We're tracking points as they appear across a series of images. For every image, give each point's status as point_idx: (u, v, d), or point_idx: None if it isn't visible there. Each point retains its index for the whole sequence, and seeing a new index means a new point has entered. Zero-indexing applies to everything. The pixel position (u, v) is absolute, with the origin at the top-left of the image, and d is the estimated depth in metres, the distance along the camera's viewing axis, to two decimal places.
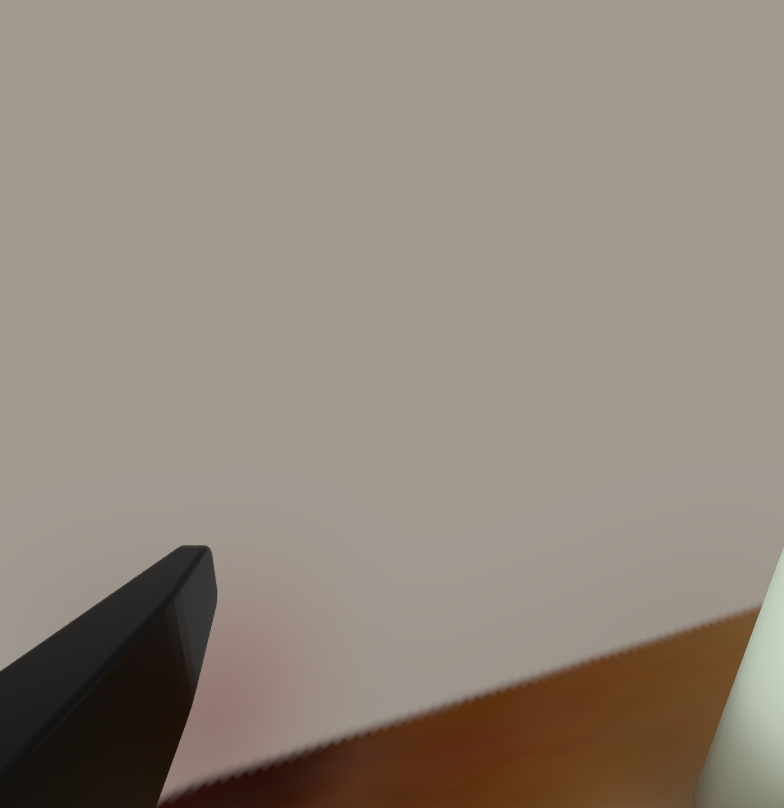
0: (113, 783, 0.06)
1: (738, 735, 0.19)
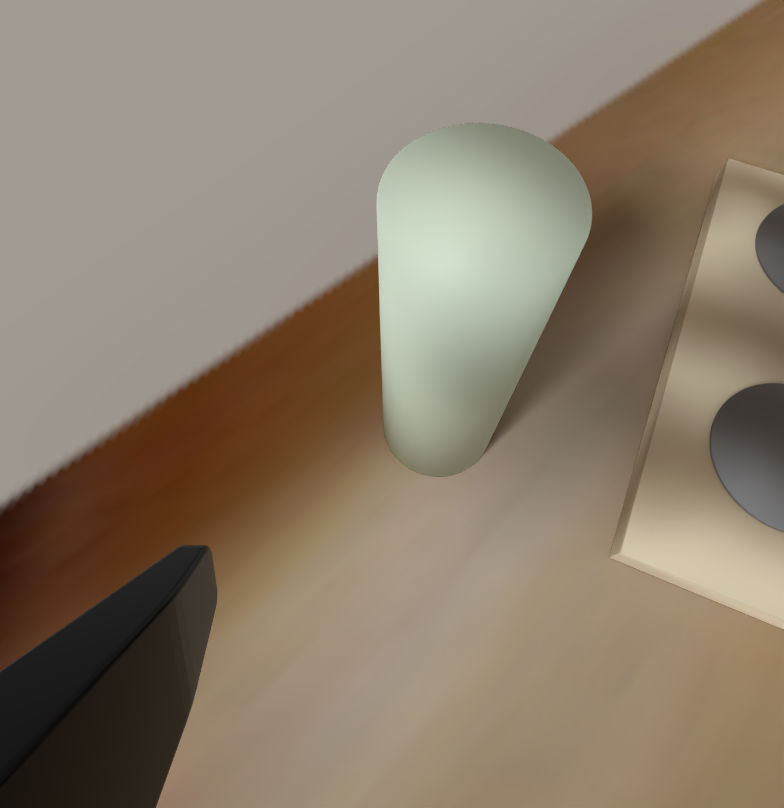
0: (113, 783, 0.06)
1: (387, 394, 0.19)
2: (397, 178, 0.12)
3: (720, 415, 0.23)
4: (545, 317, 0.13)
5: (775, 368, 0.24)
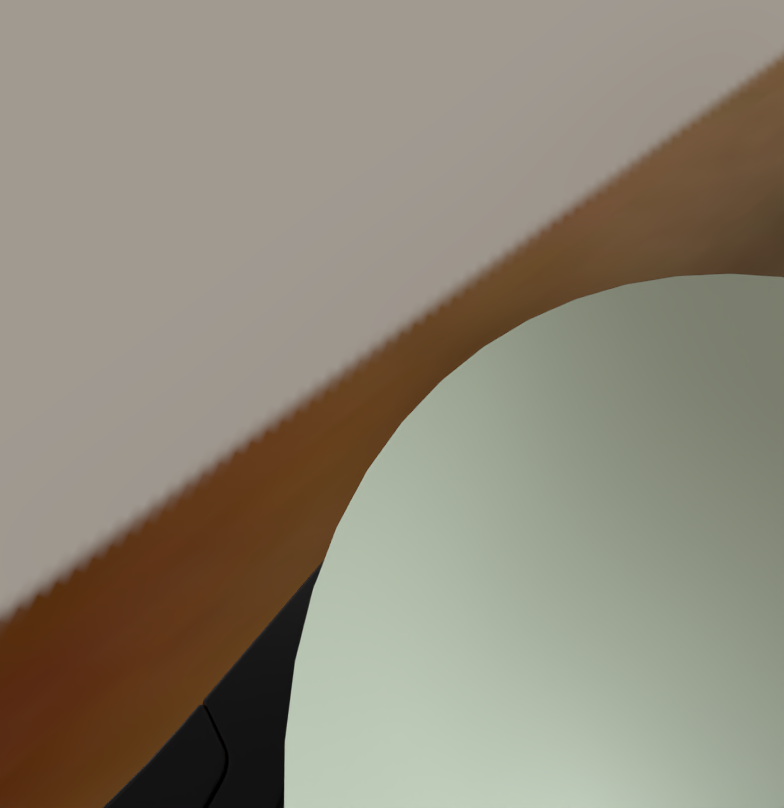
0: None
1: None
2: (394, 583, 0.03)
3: None
4: None
5: None
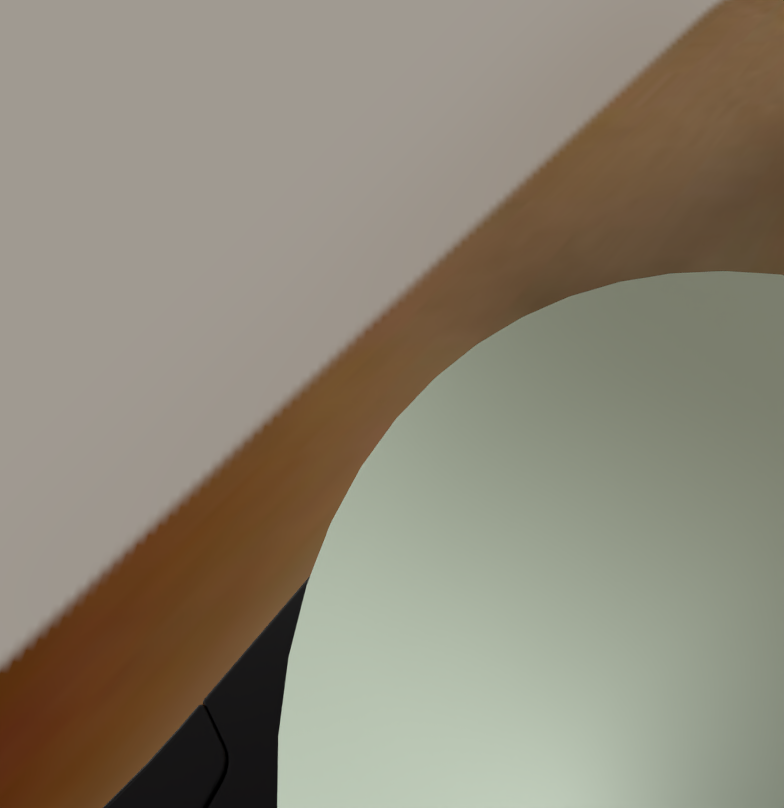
0: None
1: None
2: (388, 580, 0.03)
3: None
4: None
5: None
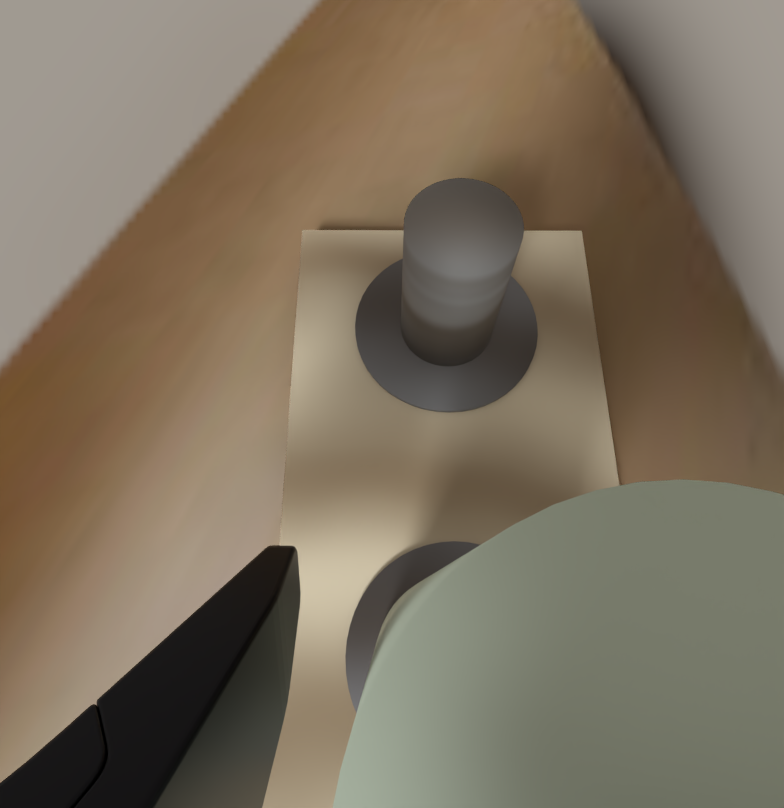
0: (236, 783, 0.06)
1: None
2: (404, 765, 0.03)
3: (352, 633, 0.16)
4: None
5: (414, 522, 0.17)
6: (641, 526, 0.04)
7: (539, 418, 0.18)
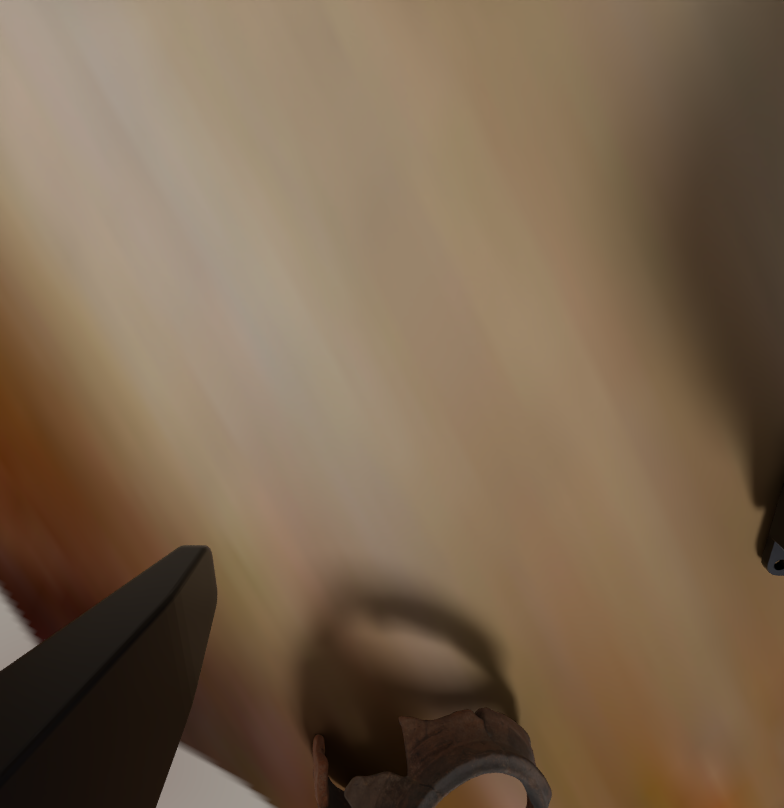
0: (113, 783, 0.06)
1: None
2: None
3: None
4: None
5: None
6: None
7: None
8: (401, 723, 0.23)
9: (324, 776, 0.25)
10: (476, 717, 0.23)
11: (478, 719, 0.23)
